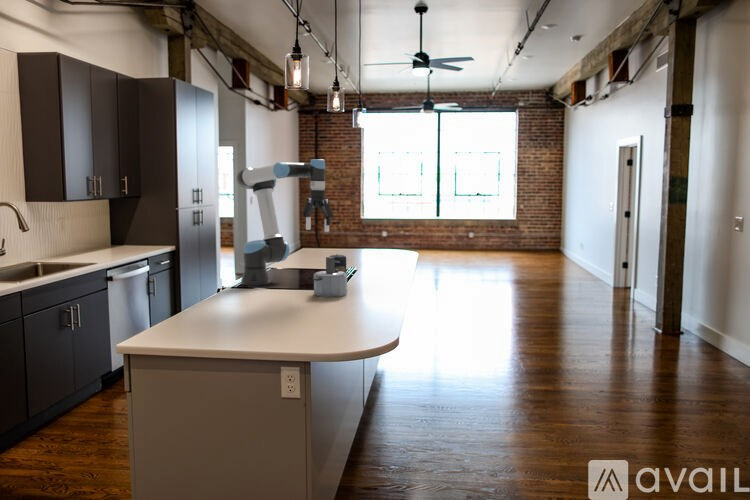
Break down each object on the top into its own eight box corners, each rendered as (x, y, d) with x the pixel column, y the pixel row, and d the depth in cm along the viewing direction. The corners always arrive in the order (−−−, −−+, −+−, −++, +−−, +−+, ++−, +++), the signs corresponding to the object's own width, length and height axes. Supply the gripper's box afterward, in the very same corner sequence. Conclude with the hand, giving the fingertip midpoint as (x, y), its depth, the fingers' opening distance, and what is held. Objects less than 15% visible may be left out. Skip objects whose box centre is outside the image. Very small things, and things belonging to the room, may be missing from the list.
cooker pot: (303, 295, 299) (303, 275, 298) (333, 289, 316) (333, 270, 315) (326, 299, 289) (326, 278, 288) (357, 292, 306) (357, 273, 305)
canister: (347, 285, 326) (347, 252, 323) (345, 289, 316) (345, 255, 314) (330, 285, 327) (330, 252, 324) (327, 288, 317) (326, 254, 315)
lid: (309, 278, 301) (308, 257, 300) (329, 274, 312) (329, 254, 311) (330, 281, 291) (330, 260, 290) (351, 277, 303) (351, 257, 302)
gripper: (295, 188, 315) (295, 229, 318) (330, 190, 299) (329, 233, 302) (306, 188, 321) (306, 228, 324) (340, 190, 305) (339, 232, 308)
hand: (317, 230), depth 313 cm, fingers open, 13 cm apart
